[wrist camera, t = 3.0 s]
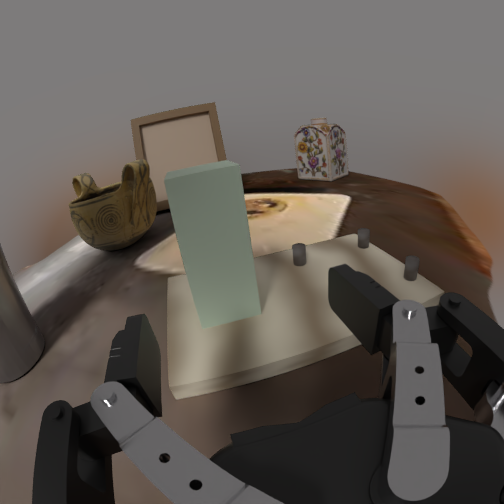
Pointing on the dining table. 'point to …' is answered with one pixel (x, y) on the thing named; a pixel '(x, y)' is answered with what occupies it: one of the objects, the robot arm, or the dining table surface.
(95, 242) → the ceramic bowl
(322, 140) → the decorative jar
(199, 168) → the green block
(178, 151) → the photo frame
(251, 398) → the dining table surface
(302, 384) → the dining table surface
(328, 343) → the peg board
